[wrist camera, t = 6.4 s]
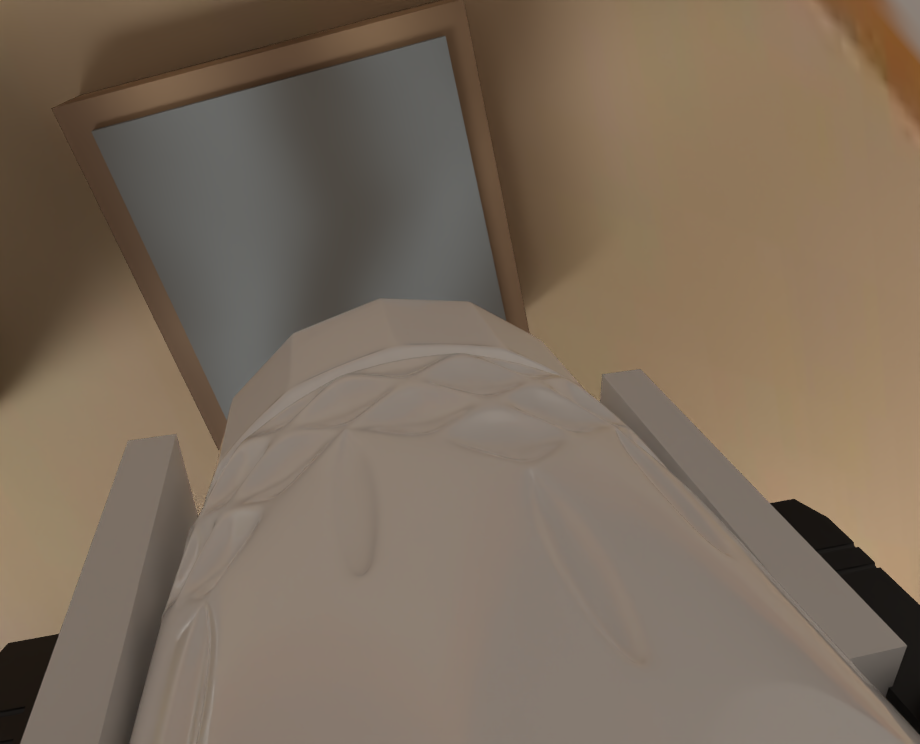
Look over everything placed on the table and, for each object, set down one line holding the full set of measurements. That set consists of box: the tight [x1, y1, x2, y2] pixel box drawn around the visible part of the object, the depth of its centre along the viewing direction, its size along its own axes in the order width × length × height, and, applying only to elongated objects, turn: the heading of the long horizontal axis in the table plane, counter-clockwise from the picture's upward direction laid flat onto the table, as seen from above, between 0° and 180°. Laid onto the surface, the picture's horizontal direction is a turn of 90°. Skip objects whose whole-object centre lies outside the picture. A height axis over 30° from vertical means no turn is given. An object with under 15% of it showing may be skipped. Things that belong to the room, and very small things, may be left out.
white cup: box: [129, 298, 920, 744], centre depth 9 cm, size 8×8×10 cm
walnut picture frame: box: [51, 0, 529, 450], centre depth 24 cm, size 12×12×3 cm
